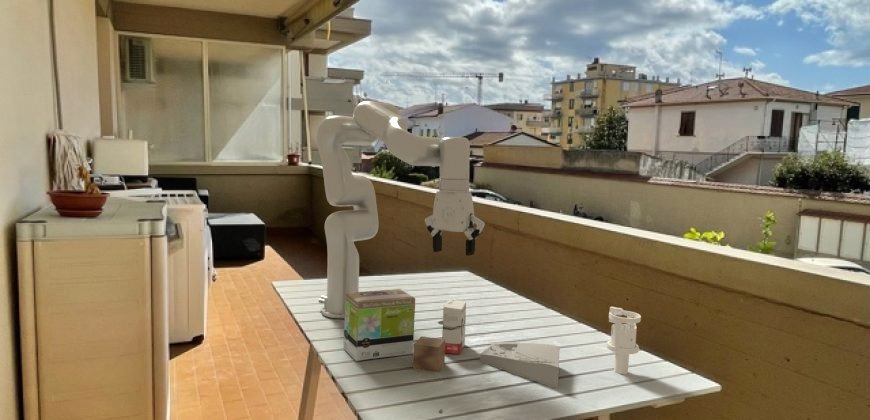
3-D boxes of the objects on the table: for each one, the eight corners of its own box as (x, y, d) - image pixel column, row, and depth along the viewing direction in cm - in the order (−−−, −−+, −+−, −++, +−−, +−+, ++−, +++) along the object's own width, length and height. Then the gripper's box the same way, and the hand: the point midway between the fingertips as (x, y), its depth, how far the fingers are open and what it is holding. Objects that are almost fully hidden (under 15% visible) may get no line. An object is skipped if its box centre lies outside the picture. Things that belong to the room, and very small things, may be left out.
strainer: (612, 363, 136) (616, 303, 135) (641, 371, 132) (645, 309, 130) (600, 371, 131) (604, 309, 129) (630, 380, 126) (634, 315, 125)
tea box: (356, 363, 131) (357, 301, 130) (343, 349, 140) (344, 291, 138) (414, 354, 138) (416, 296, 137) (397, 342, 147) (399, 287, 145)
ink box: (460, 355, 138) (461, 309, 137) (440, 353, 139) (442, 307, 138) (465, 344, 147) (467, 300, 146) (447, 342, 148) (448, 298, 147)
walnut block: (413, 369, 128) (413, 344, 128) (420, 360, 134) (421, 336, 134) (438, 372, 127) (439, 347, 126) (444, 363, 133) (445, 339, 132)
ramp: (464, 353, 142) (464, 332, 141) (515, 345, 149) (516, 325, 148) (531, 396, 117) (532, 371, 116) (588, 384, 124) (590, 361, 123)
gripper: (417, 185, 142) (417, 251, 144) (476, 187, 133) (475, 258, 134) (433, 185, 149) (433, 248, 150) (491, 186, 139) (490, 254, 141)
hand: (453, 253), depth 142 cm, fingers open, 9 cm apart
